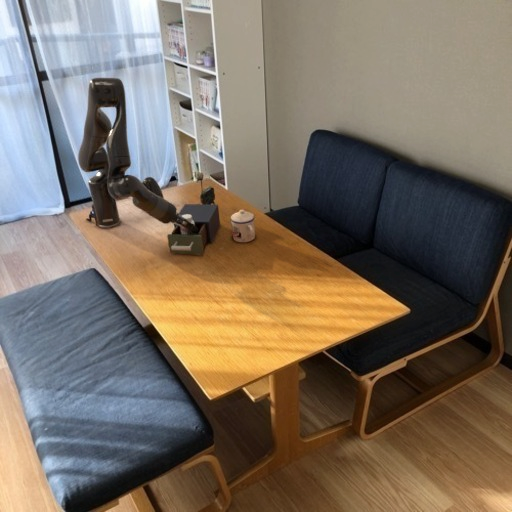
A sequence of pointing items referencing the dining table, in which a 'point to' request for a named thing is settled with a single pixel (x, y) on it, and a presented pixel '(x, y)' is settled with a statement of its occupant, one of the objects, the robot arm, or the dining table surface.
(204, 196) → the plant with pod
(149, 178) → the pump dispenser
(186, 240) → the drawer
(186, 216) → the pill bottle
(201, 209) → the cabinet
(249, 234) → the teacup with lid
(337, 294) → the dining table surface
